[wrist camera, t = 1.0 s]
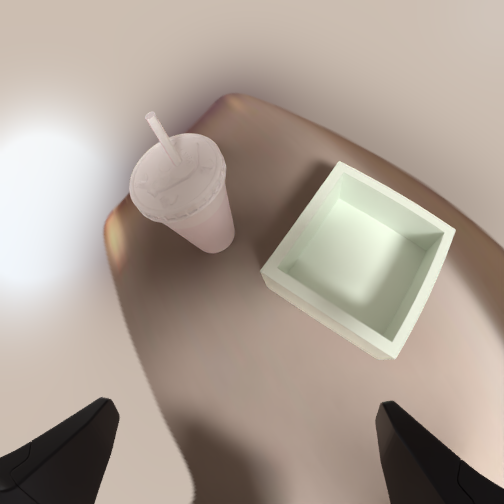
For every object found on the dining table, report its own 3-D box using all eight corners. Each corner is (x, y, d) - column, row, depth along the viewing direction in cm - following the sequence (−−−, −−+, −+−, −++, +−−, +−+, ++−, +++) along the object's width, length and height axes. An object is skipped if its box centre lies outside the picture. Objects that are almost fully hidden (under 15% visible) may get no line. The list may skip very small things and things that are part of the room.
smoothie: (265, 224, 26) (228, 98, 13) (218, 283, 24) (131, 195, 11) (211, 191, 28) (152, 76, 15) (167, 242, 27) (74, 149, 14)
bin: (377, 359, 20) (395, 359, 16) (267, 287, 24) (259, 271, 19) (434, 251, 22) (455, 229, 18) (334, 191, 26) (338, 161, 22)
